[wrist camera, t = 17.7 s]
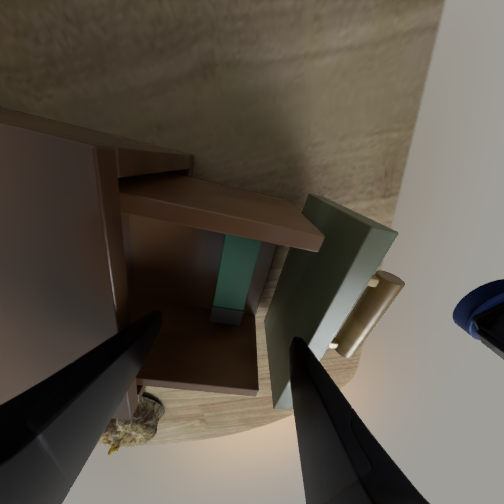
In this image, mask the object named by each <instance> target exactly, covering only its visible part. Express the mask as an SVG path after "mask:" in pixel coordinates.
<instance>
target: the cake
mask: <svg viewBox="0 0 504 504" xmlns="http://www.w3.org/2000/svg"><path fill="white" fill-rule="evenodd" d="M164 412H165V411H164V409H163V407H162V406H161V405H160V404H158V403H157V402H156V401H154V400H152V399H149V398H147V397H143V396H141V399H140V401H139V402H138V405H137V407H136V410H135V412H134V414H133V416H132V418H131V419H130V420H126V419H113V418H112V419H111V420H110V422H109V424H108V425H107V427H106V429H105V431H104V432H103V434H102V436H101V437H100V439H99V441H98V443H97V444H100V445H102V444H103V445H105V446H110V445H111V448H110V450H109V452H108V455H110V454H111V453H114V452H115V451H116V450H117V451H118V449H119V447H129V446H130V447H132V446H135V445H136V446H137V445H142V444H145V443H146V442H148V441H149V440H150V439H151V438H153V437H154V436H155V434H156V431H157V424H158V423H157V422H158V421H159V419H160V418H161V417H162V416H163V414H164ZM116 448H117V449H116Z"/></svg>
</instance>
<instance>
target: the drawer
mask: <svg viewBox="0 0 504 504" xmlns="http://www.w3.org/2000/svg"><path fill="white" fill-rule="evenodd" d="M118 184H119V195H120V207H121V218H122V229H123V240H124V251H125V262H126V273H127V284H128V296H129V307H130V318H131V324H132V323H134V322H135V321H137V320H138V319H140V318H142V317H143V316H145V315H146V314H148V313H149V312H151V311H153V310H158V311H162V326H161V328H160V330H159V333H158V335H157V337H156V339H155V341H154V344H153V346H152V348H151V350H150V352H149V354H148V357H147V358H146V360H145V362H144V364H143V366H142V367H141V369H140V371H139V372H138V374H137V376H136V385H143V386H153V387H164V388H174V389H184V390H194V391H205V392H215V393H225V394H236V395H246V396H256V395H257V393H258V391H259V386H258V366H257V346H256V325H255V314H256V311H257V308H258V305H259V302H260V299H261V296H262V292H263V289H264V286H265V283H266V280H267V277H268V273H269V270H270V267H271V264H272V261H273V258H274V254H275V251H276V248H277V245H283V246H288V247H290V249H289V251H288V254H287V257H286V260H285V263H284V266H283V269H282V271H281V274H280V277H279V280H278V283H277V286H276V288H275V291H274V294H273V297H272V300H271V303H270V306H269V308H268V311H267V314H266V317H265V320H264V323H265V332H266V342H267V351H268V361H269V370H270V380H271V389H272V399H273V408H274V409H282V410H290V408H291V407H292V405H293V401H292V394H291V386H290V370H289V346H290V344H291V342H292V340H293V338H294V337H295V336H296V337H301V338H303V340H304V341H305V342H306V344H307V345H308V347H309V348H310V349H311V351H312V352H313V353H314V355H315V356H316V358H317V359H318V360H319V361H320V360H321V358H322V357H323V355H324V353H325V352H326V350H327V348H334V349H335V350H336V351H337V352H338V353H339V354H340V355H341V356H343V357H346V358H351V357H352V356H353V355H354V354H355V352H356V351H357V350H358V348H359V347H360V346H361V344H362V343H363V341H364V340H365V339H366V337H367V336H368V335H369V333H370V332H371V331H372V329H373V328H374V326H375V325H376V324H377V322H378V321H379V320H380V318H381V317H382V315H383V314H384V313H385V311H386V310H387V309H388V307H389V306H390V305H391V303H392V301H393V300H394V299H395V298H396V296H397V295H398V294H399V292H400V291H401V289H402V288H403V287H404V285H405V283H404V282H403V281H402V280H401V279H400V278H398V277H397V276H395V275H393V274H391V273H388V272H385V271H380V270H379V271H377V272H376V273H375V275H373V274H374V272H375V271H376V269H377V268H378V266H379V264H380V263H381V261H382V259H383V258H384V256H385V255H386V253H387V251H388V250H389V248H390V246H391V245H392V243H393V242H394V240H395V238H396V237H397V235H398V232H397V231H394V230H392V229H390V228H388V227H386V226H384V225H382V224H380V223H377V222H375V221H373V220H371V219H369V218H367V217H365V216H363V215H361V214H358V213H356V212H354V211H352V210H350V209H348V208H346V207H344V206H342V205H339V204H337V203H335V202H333V201H331V200H329V199H327V198H325V197H322V196H318V195H314V194H309V195H308V197H307V200H306V203H305V206H304V209H303V212H302V213H301V212H300V211H299V210H298V209H297V208H296V207H295V206H293V205H292V204H291V202H290V201H288V200H285V199H280V198H276V197H272V196H267V195H263V194H259V193H255V192H250V191H246V190H242V189H237V188H233V187H229V186H225V185H220V184H216V183H212V182H208V181H203V180H199V179H195V178H190V177H186V176H182V175H178V174H173V173H169V172H159V173H152V174H144V175H136V176H129V177H121V178H118ZM225 234H229V235H234V236H239V237H244V238H248V239H253V240H258V241H262V243H261V247H260V251H259V254H258V258H257V262H256V265H255V269H254V273H253V276H252V280H251V284H250V287H249V291H248V295H247V299H246V302H245V306H244V313H243V316H242V320H241V324H240V326H238V325H231V324H224V323H217V322H210V315H211V309H212V305H213V300H214V296H215V290H216V285H217V279H218V273H219V267H220V261H221V255H222V250H223V244H224V238H225ZM366 286H367V288H366V289H365V287H366ZM364 289H365V291H364V292H363V290H364ZM362 292H363V294H362V296H361V297H360V295H361V293H362ZM359 297H360V299H359V300H358V298H359ZM357 300H358V302H357ZM356 302H357V304H356V305H355V303H356ZM354 305H355V307H354V308H353V306H354ZM352 308H353V310H352ZM351 310H352V312H351V313H350V311H351ZM349 313H350V315H349V316H348V314H349ZM347 316H348V318H347ZM346 318H347V320H346V321H345V319H346ZM344 321H345V323H344ZM343 323H344V325H343V326H342V324H343ZM341 326H342V328H341V329H340V327H341ZM339 329H340V331H339ZM338 331H339V333H338V334H337V332H338ZM336 334H337V336H336ZM335 336H336V337H335ZM334 337H335V338H334Z"/></svg>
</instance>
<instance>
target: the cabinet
mask: <svg viewBox="0 0 504 504" xmlns="http://www.w3.org/2000/svg"><path fill="white" fill-rule="evenodd" d="M193 160H194V155H191V154H187V153H183V152H179V151H175V150H170V149H166V148H162V147H158V146H154V145H150V144H146V143H142V142H138V141H134V140H130V139H126V138H122V137H118V136H114V135H110V134H106V133H102V132H98V131H94V130H90V129H86V128H82V127H78V126H74V125H70V124H66V123H62V122H58V121H54V120H50V119H46V118H42V117H38V116H34V115H30V114H26V113H22V112H18V111H14V110H10V109H6V108H1V107H0V405H1V404H3V403H5V402H6V401H8V400H10V399H12V398H14V397H15V396H17V395H19V394H21V393H22V392H24V391H26V390H28V389H29V388H31V387H33V386H34V385H36V384H38V383H40V382H41V381H43V380H45V379H46V378H48V377H49V376H51V375H53V374H54V373H56V372H57V371H59V370H61V369H62V368H64V367H65V366H67V365H68V364H70V363H72V362H74V361H75V360H76V359H78V358H79V357H81V356H83V355H84V354H86V353H87V352H89V351H90V350H92V349H93V348H95V347H96V346H98V345H100V344H101V343H103V342H104V341H106V340H107V339H109V338H110V337H112V336H114V335H115V334H117V333H118V332H120V331H121V330H123V329H124V328H126V327H128V326H129V325H131V318H130V307H129V296H128V284H127V273H126V262H125V251H124V240H123V229H122V218H121V207H120V195H119V184H118V178H121V177H129V176H136V175H144V174H152V173H159V172H169V173H173V174H178V175H182V176H186V177H190V178H192V173H193ZM145 388H146V386H143V385H136V378H135V379H134V381H133V383H132V384H131V386H130V388H129V389H128V391H127V393H126V395H125V396H124V398H123V400H122V401H121V403H120V405H119V407H118V408H117V410H116V412H115V413H114V415H113V417H112V418H113V419H126V420H130V419H131V418H132V416H133V414H134V412H135V410H136V407H137V405H138V402H139V401H140V399H141V396H142V394H143V392H144V390H145Z"/></svg>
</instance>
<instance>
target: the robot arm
mask: <svg viewBox="0 0 504 504" xmlns="http://www.w3.org/2000/svg"><path fill="white" fill-rule="evenodd" d="M472 321H473V323H474V325H475V327H476V329H477V334H478V336H479V338H480V340H481V342H482V343H483V344H485V345H486V346H487V347H488V348H490V349H491V350H492V351H493V352H495V353H496V354H497V355H499V356H500V357H501V358H503V359H504V302H502V303H500V304H498V305H496V306H493V307H491V308H489V309H487V310H485V311H483V312H481V313H479V314H477V315H475V316H473V317H472ZM161 326H162V311H158V310H153V311H151V312H149V313H148V314H146V315H145V316H143V317H142V318H140V319H138V320H137V321H135V322H134V323H132V324H131V325H129V326H128V327H126V328H124V329H123V330H121V331H120V332H118V333H117V334H115V335H114V336H112V337H110V338H109V339H107V340H106V341H104V342H103V343H101V344H100V345H98V346H96V347H95V348H93V349H92V350H90V351H89V352H87V353H86V354H84V355H83V356H81V357H79V358H78V359H76V360H75V361H74V362H72V363H70V364H68V365H67V366H65V367H64V368H62V369H61V370H59V371H57V372H56V373H54V374H53V375H51V376H49V377H48V378H46V379H45V380H43V381H41V382H40V383H38V384H36V385H34V386H33V387H31V388H29V389H28V390H26V391H24V392H22V393H21V394H19V395H17V396H15V397H14V398H12V399H10V400H8V401H6V402H5V403H3V404H1V405H0V504H62V502H63V501H64V499H65V497H66V496H67V494H68V492H69V491H70V488H71V487H72V485H73V483H74V481H75V480H76V478H77V476H78V475H79V473H80V472H81V470H82V468H83V466H84V465H85V463H86V461H87V460H88V458H89V456H90V454H91V453H92V451H93V449H94V448H95V446H96V444H97V443H98V441H99V439H100V437H101V436H102V434H103V432H104V431H105V429H106V427H107V425H108V424H109V422H110V420H111V419H112V417H113V415H114V413H115V412H116V410H117V408H118V407H119V405H120V403H121V401H122V400H123V398H124V396H125V395H126V393H127V391H128V389H129V388H130V386H131V384H132V383H133V381H134V379H135V378H136V376H137V374H138V372H139V371H140V369H141V367H142V366H143V364H144V362H145V360H146V358H147V357H148V354H149V352H150V350H151V348H152V346H153V344H154V341H155V339H156V337H157V335H158V333H159V330H160V328H161ZM289 370H290V386H291V394H292V401H293V409H294V416H295V423H296V430H297V438H298V446H299V453H300V461H301V468H302V476H303V482H304V490H305V498H306V504H430V503H429V502H428V501H427V500H426V499H425V498H423V496H422V495H421V494H420V493H419V492H418V491H417V489H416V488H415V487H414V486H413V485H412V483H411V482H410V481H409V480H408V479H407V477H406V476H405V475H404V473H403V472H402V471H401V470H400V468H399V467H398V466H397V465H396V464H395V462H394V461H393V460H392V459H391V457H390V456H389V455H388V454H387V452H386V451H385V450H384V449H383V448H382V446H381V445H380V444H379V443H378V441H377V440H376V439H375V437H374V436H373V435H372V434H371V432H370V431H369V430H368V428H367V427H366V426H365V424H364V423H363V422H362V420H361V419H360V418H359V416H358V415H357V413H356V412H355V411H354V409H353V408H352V407H351V405H350V404H349V402H348V401H347V400H346V398H345V397H344V395H343V394H342V393H341V392H340V390H339V388H338V387H337V386H336V384H335V383H334V381H333V380H332V379H331V377H330V376H329V374H328V373H327V372H326V370H325V369H324V367H323V366H322V365H321V363H320V362H319V360H318V359H317V358H316V356H315V355H314V353H313V352H312V351H311V349H310V348H309V347H308V345H307V344H306V342H305V341H304V340H303V338H301V337H296V336H295V337H294V338H293V340H292V342H291V344H290V346H289Z"/></svg>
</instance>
